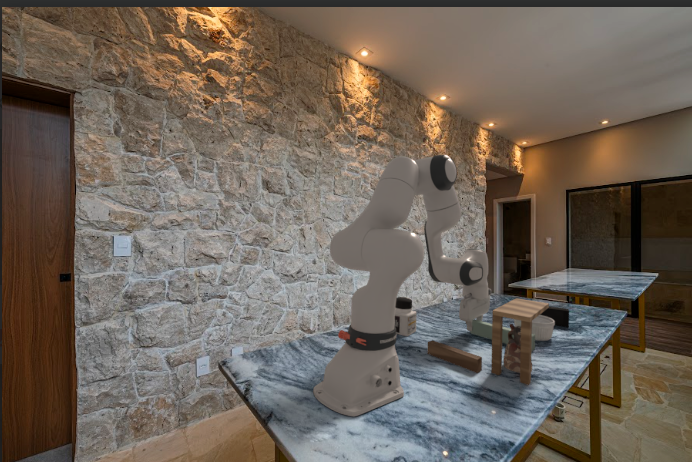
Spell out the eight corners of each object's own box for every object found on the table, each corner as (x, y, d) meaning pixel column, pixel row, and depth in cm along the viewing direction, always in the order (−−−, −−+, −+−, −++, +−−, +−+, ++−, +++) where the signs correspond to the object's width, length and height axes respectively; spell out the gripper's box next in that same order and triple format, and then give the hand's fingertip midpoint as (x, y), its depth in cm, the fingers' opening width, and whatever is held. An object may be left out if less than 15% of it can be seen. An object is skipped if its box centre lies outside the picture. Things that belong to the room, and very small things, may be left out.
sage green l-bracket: (518, 360, 91) (519, 343, 91) (455, 339, 107) (455, 325, 107) (534, 349, 99) (535, 334, 99) (473, 332, 115) (474, 319, 115)
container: (407, 336, 108) (408, 301, 108) (388, 332, 113) (389, 298, 113) (416, 331, 115) (417, 297, 115) (398, 327, 119) (399, 294, 119)
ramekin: (563, 343, 105) (563, 323, 105) (525, 342, 106) (526, 322, 106) (539, 330, 119) (540, 313, 119) (506, 329, 119) (506, 312, 119)
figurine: (517, 374, 81) (518, 330, 81) (497, 363, 88) (498, 322, 88) (538, 372, 83) (539, 329, 83) (517, 361, 90) (518, 321, 90)
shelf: (528, 385, 75) (530, 317, 75) (491, 372, 82) (492, 310, 82) (547, 359, 91) (548, 303, 91) (515, 350, 97) (516, 298, 97)
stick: (477, 374, 81) (477, 359, 81) (427, 354, 94) (427, 342, 94) (481, 371, 83) (481, 357, 83) (432, 352, 95) (432, 340, 95)
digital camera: (567, 324, 128) (567, 307, 128) (569, 327, 123) (569, 310, 123) (538, 319, 133) (539, 304, 133) (539, 323, 128) (539, 306, 128)
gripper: (472, 297, 103) (471, 337, 103) (493, 289, 118) (492, 324, 118) (454, 294, 107) (454, 332, 107) (476, 287, 122) (476, 320, 122)
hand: (474, 328), depth 113 cm, fingers open, 7 cm apart
